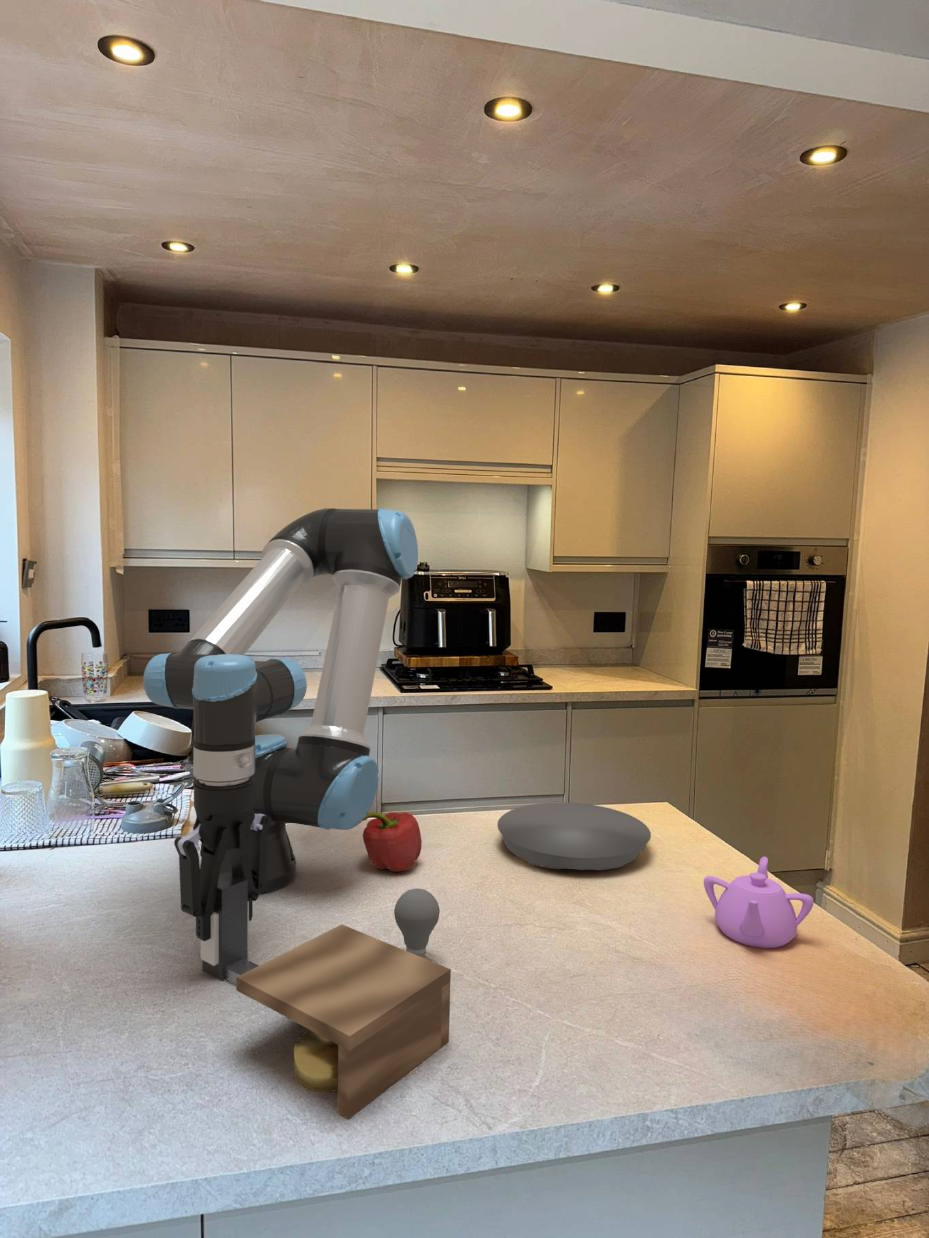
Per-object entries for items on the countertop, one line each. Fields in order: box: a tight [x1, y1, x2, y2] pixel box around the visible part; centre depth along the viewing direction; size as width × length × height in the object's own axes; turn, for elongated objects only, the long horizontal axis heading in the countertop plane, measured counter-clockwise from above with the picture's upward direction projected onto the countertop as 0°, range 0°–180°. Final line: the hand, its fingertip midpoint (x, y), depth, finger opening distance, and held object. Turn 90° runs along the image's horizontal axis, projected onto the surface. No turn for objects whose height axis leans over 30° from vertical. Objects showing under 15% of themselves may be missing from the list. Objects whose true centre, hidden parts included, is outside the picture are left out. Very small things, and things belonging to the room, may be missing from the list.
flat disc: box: [496, 801, 652, 871], centre depth 152 cm, size 28×28×4 cm
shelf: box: [235, 924, 452, 1120], centre depth 91 cm, size 17×16×8 cm
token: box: [293, 1029, 338, 1093], centre depth 87 cm, size 7×7×3 cm
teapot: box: [703, 856, 815, 949], centre depth 121 cm, size 12×14×9 cm
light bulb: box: [393, 888, 440, 959], centre depth 109 cm, size 6×6×10 cm
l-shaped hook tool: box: [201, 872, 260, 986], centre depth 101 cm, size 22×4×12 cm, turn 54°
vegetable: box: [361, 811, 423, 873], centre depth 141 cm, size 11×10×10 cm
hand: (225, 953), depth 107 cm, fingers closed on l-shaped hook tool, 4 cm apart
